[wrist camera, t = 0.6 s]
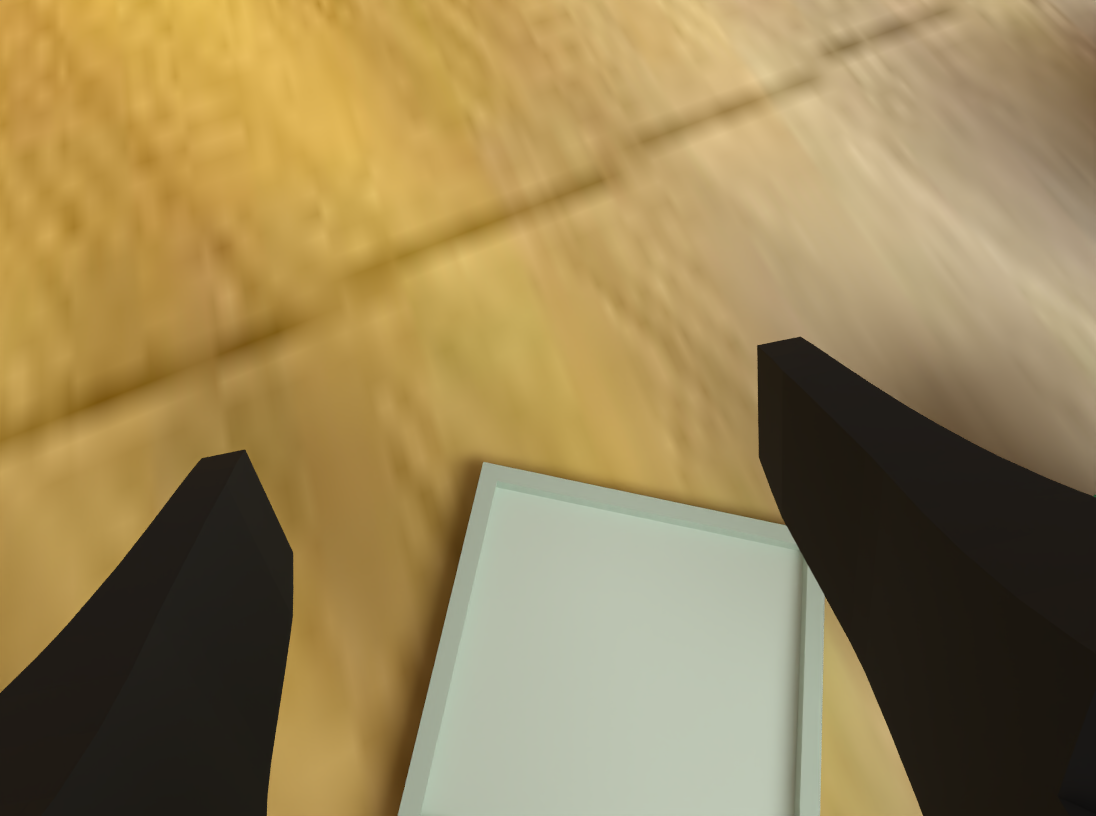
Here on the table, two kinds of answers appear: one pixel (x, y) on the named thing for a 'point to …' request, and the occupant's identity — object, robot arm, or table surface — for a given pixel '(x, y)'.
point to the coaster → (621, 662)
